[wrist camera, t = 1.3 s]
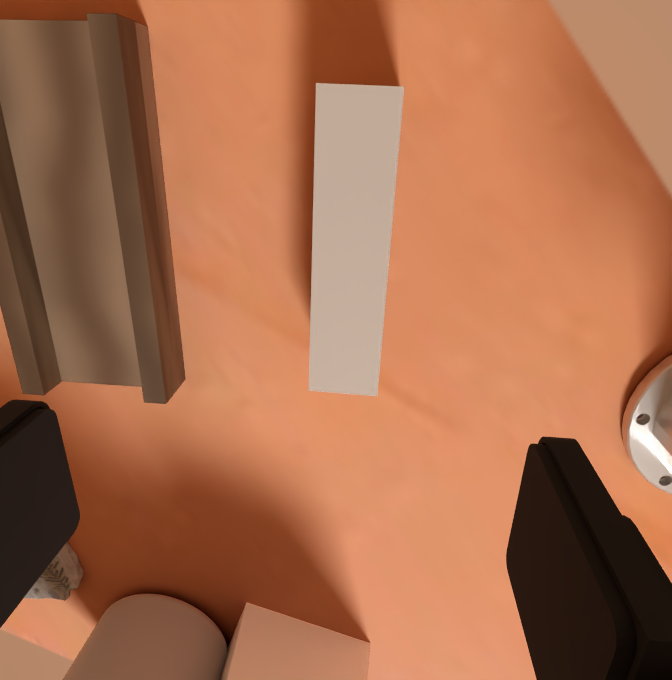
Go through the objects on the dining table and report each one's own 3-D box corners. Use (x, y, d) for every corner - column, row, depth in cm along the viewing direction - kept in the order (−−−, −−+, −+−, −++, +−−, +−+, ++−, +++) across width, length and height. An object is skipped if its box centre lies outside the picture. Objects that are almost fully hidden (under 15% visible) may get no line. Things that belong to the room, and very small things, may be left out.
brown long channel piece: (147, 26, 27) (115, 13, 24) (185, 379, 36) (166, 403, 33) (-24, 24, 28) (-76, 11, 25) (54, 370, 37) (23, 393, 34)
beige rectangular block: (400, 94, 28) (404, 86, 22) (378, 352, 34) (377, 396, 29) (329, 91, 28) (316, 82, 23) (321, 348, 35) (308, 390, 29)
